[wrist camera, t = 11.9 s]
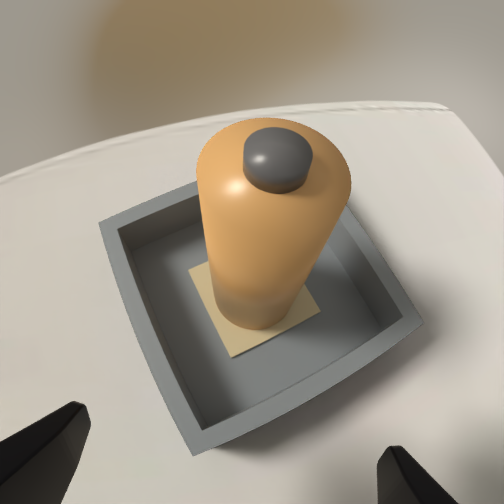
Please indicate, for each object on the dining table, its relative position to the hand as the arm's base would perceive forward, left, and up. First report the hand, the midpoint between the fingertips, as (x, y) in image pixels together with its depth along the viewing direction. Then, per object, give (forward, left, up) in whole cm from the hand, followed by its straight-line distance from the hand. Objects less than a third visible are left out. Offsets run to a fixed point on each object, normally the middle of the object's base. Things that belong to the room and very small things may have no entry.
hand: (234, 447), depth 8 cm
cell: (+7, -5, -9) cm, 12 cm away
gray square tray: (+7, -4, -10) cm, 13 cm away
